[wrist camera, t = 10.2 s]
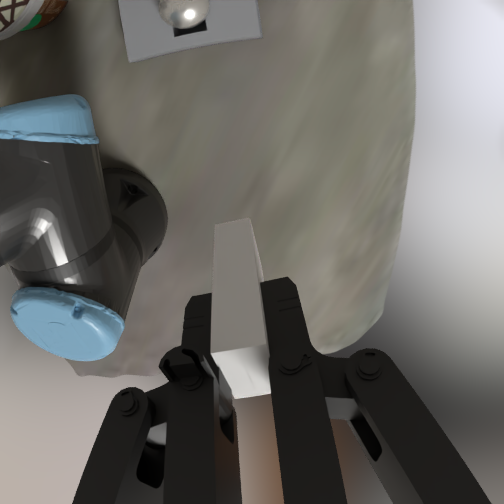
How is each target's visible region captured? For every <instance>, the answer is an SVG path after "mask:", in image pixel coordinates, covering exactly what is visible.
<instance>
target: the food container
mask: <svg viewBox="0 0 504 504" xmlns="http://www.w3.org/2000/svg"><path fill="white" fill-rule="evenodd" d="M67 2H68V1H64V0H0V40H3V39H6V38H9V37H11V36H13V35H14V34H16V33H17V32H19V31H25V30H31V29H37V28H41V27H43V26H45V25H47V24H49V23H50V22H52V21H53V20H54V19H55V18H56V17H57V16H58V15H59V14H60V13H61V12H62V10H63V9H64V7H65V6H66V4H67Z"/></svg>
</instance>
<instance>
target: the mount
mask: <svg viewBox="0 0 504 504" xmlns="http://www.w3.org/2000/svg"><path fill="white" fill-rule="evenodd" d="M159 2H160V0H118V3H119V9H120V15H121V21H122V27H123V33H124V38H125V44H126V49H127V54H128V59H129V62H139V61H143V60H146V59H150V58H154V57H158V56H162V55H166V54H170V53H175V52H179V51H184V50H188V49H193V48H198V47H204V46H209V45H215V44H221V43H228V42H235V41H242V40H251V39H260V38H263V35H262V28H261V21H260V14H259V8H258V1H257V0H209V2H210V11H209V14H208V16H207V17H206V19H205V20H204V21H203V22H202V23H201V24H199V25H197V26H195V27H193V28H189V29H179V28H175V27H173V26H171V25H168V24H167V23H165V22H164V21H163V20H162V18H161V17H160V14H159Z"/></svg>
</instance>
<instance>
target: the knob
mask: <svg viewBox="0 0 504 504" xmlns="http://www.w3.org/2000/svg"><path fill="white" fill-rule="evenodd" d="M209 11H210V2H209V0H160V2H159V14H160V17H161V18H162V20H163V21H164V22H165V23H167V24H168V25H171V26H173V27H175V28H179V29H189V28H193V27H195V26H197V25H199V24H201V23H202V22H203V21H204V20H205V19H206V17H207V16H208V14H209Z"/></svg>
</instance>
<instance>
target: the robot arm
mask: <svg viewBox="0 0 504 504" xmlns="http://www.w3.org/2000/svg"><path fill="white" fill-rule="evenodd" d="M98 143H99V138H98V137H97V136H96V133H95V129H94V124H93V119H92V113H91V108H90V105H89V103H88V102H87V100H86V99H84V98H83V97H82V96H80V95H76V94H67V95H59V96H53V97H47V98H41V99H36V100H31V101H26V102H21V103H16V104H12V105H8V106H4V107H0V267H1V266H2V265H4V264H6V263H8V264H9V266H10V268H11V270H12V272H13V274H14V276H15V278H16V281H17V283H18V286H19V289H18V290H17V291H16V292H15V293H14V295H13V296H12V305H11V309H10V311H11V316H12V319H13V321H14V323H15V325H16V326H17V328H19V330H20V331H21V332H22V333H23V334H24V335H25V336H26V337H27V338H28V339H29V340H30V341H32V342H33V343H34V344H36V345H37V346H39V347H41V348H42V349H45V350H46V351H49V352H50V353H52V354H55V355H57V356H60V357H64V358H67V359H72V360H78V361H94V360H99V359H102V358H104V357H106V356H107V355H108V354H110V353H112V352H113V350H114V349H115V347H116V345H117V343H118V340H119V338H120V336H121V333H122V332H123V330H124V327H125V324H124V322H125V319H126V315H127V312H128V308H129V305H130V301H131V298H132V294H133V291H134V288H135V285H136V281H137V278H138V275H139V272H140V269H141V267H142V266H143V265H144V264H145V263H146V262H147V261H148V259H150V258H151V257H152V256H153V255H154V254H155V253H156V252H157V251H158V249H159V248H160V246H161V244H162V242H163V239H164V236H165V233H166V229H167V223H168V217H167V210H166V206H165V204H164V201H163V199H162V197H161V195H160V194H159V192H158V191H157V190H156V188H155V187H154V186H153V185H152V184H151V183H150V182H149V181H147V180H146V179H145V178H143V177H142V176H140V175H138V174H136V173H134V172H131V171H128V170H124V169H118V168H110V169H103V170H102V167H101V161H100V155H99V149H98ZM159 368H160V370H161V371H162V372H163V374H164V375H165V376H166V378H167V379H168V380H169V382H168V383H166V384H164V385H162V386H160V387H158V388H155V389H153V390H150V391H148V392H145V393H144V392H143V391H142V390H141V389H138V388H136V387H128V388H126V389H123V390H121V391H120V392H119V393H117V394H116V395H115V397H114V398H113V400H112V401H111V404H110V406H109V409H108V411H107V413H106V416H105V418H104V420H103V423H102V425H101V428H100V430H99V433H98V435H97V438H96V441H95V443H94V445H93V448H92V451H91V453H90V456H89V459H88V461H87V464H86V466H85V469H84V472H83V475H82V477H81V480H80V483H79V486H78V488H77V491H76V494H75V497H74V500H73V503H72V504H242V495H241V480H240V466H239V452H238V451H239V450H238V436H237V435H238V434H237V418H236V412H235V409H234V407H233V405H232V394H233V396H234V398H235V399H238V398H245V397H252V396H258V395H265V394H271V396H272V405H273V413H274V420H275V429H276V438H277V446H278V454H279V462H280V470H281V478H282V488H283V496H284V504H347V499H346V495H345V489H344V484H343V479H342V474H341V469H340V464H339V459H338V454H337V450H336V445H335V441H334V436H333V431H332V426H331V422H330V418H331V419H345V420H346V422H347V423H348V425H349V427H350V429H351V430H352V432H353V434H354V435H355V437H356V439H357V441H358V443H359V444H360V446H361V448H362V450H363V451H364V453H365V455H366V457H367V458H368V460H369V462H370V464H371V465H372V467H373V469H374V471H375V472H376V474H377V476H378V478H379V479H380V481H381V483H382V484H383V486H384V488H385V490H386V492H387V493H388V495H389V497H390V499H391V500H392V502H393V504H491V502H490V501H489V499H488V498H487V496H486V494H485V493H484V492H483V490H482V488H481V487H480V485H479V483H478V482H477V480H476V479H475V477H474V476H473V474H472V473H471V471H470V470H469V468H468V467H467V465H466V464H465V462H464V461H463V459H462V458H461V456H460V455H459V453H458V452H457V450H456V449H455V447H454V446H453V445H452V443H451V442H450V440H449V439H448V437H447V436H446V434H445V433H444V431H443V430H442V428H441V427H440V426H439V425H438V423H437V421H436V420H435V419H434V417H433V416H432V414H431V413H430V412H429V410H428V409H427V407H426V406H425V404H424V403H423V402H422V400H421V399H420V398H419V396H418V395H417V393H416V392H415V391H414V389H413V388H412V386H411V385H410V384H409V382H407V380H406V378H405V377H404V376H403V374H402V373H401V372H400V370H399V369H398V368H397V366H396V365H395V364H394V362H393V361H392V360H391V358H390V357H389V356H388V355H387V354H386V353H384V352H382V351H380V350H377V349H367V348H366V349H363V350H359V351H357V352H356V353H354V354H353V355H351V356H350V358H334V357H328V356H325V355H323V354H321V353H319V352H318V351H316V350H315V348H314V347H313V346H312V344H311V342H310V339H309V334H308V330H307V326H306V322H305V318H304V314H303V311H302V307H301V303H300V299H299V295H298V291H297V287H296V285H295V284H294V283H293V282H292V281H291V280H290V279H289V278H288V277H284V278H279V279H274V280H269V281H264V279H263V272H262V266H261V262H260V258H259V254H258V249H257V245H256V241H255V237H254V233H253V229H252V225H251V220H250V217H249V218H244V219H239V220H235V221H230V222H226V223H221V224H217V225H215V234H214V255H213V280H212V293H208V294H202V295H197V296H192V297H191V299H190V300H189V302H188V304H187V306H186V307H185V315H184V324H183V334H182V344H181V346H178V347H175V348H173V349H171V350H170V351H168V352H167V353H166V354H165V355H164V356H163V358H162V359H161V361H160V364H159Z"/></svg>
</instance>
